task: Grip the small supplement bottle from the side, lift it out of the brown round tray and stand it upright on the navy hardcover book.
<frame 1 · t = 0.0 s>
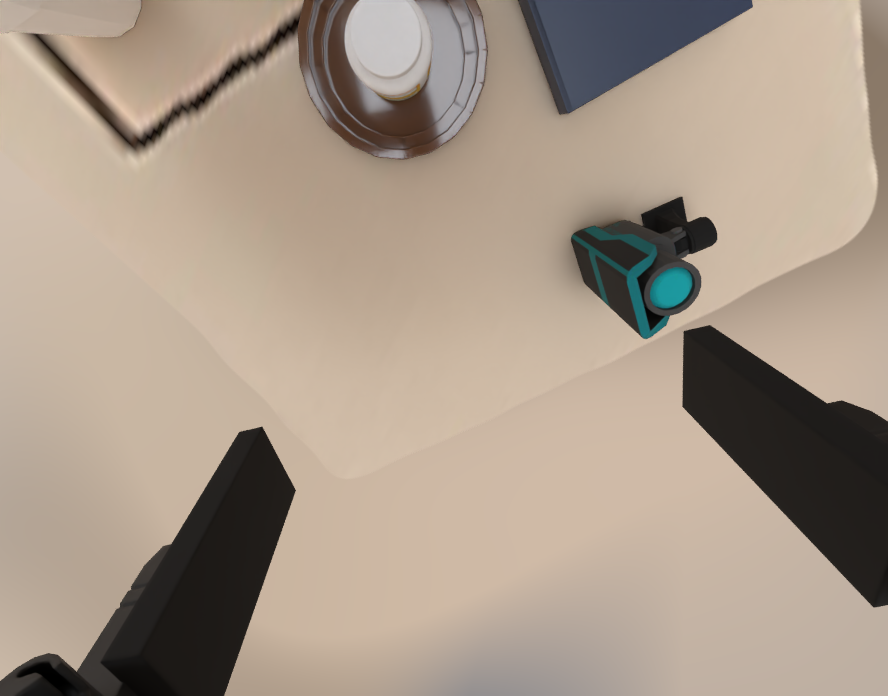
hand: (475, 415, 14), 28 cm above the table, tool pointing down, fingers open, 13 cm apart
surveillance camera: (628, 239, 40), on the table
brown round tray: (395, 60, 33), on the table
supplement bottle: (395, 60, 33), resting on brown round tray
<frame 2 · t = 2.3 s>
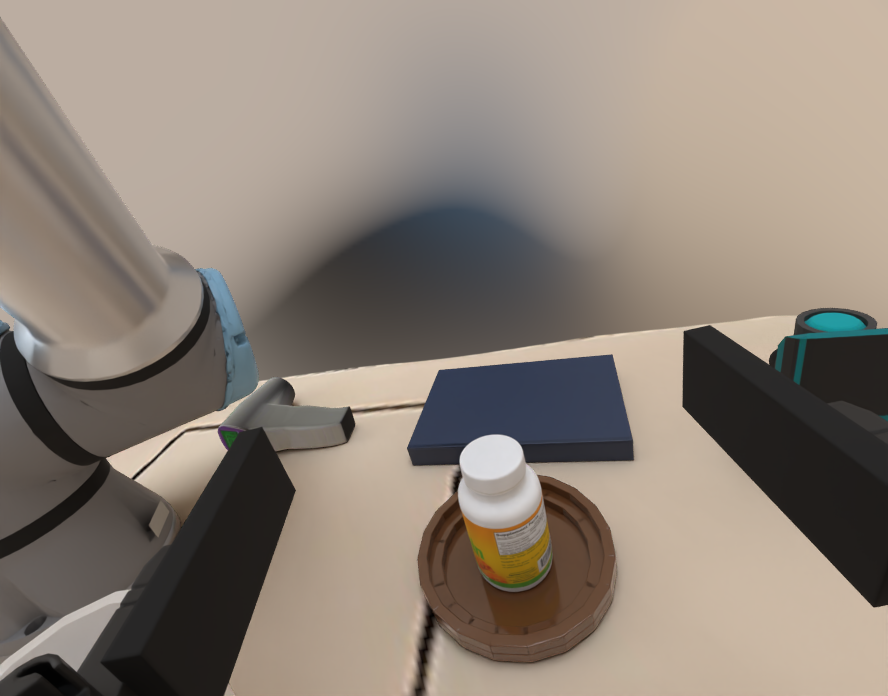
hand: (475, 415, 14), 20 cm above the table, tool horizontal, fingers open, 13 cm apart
infrared thermometer: (305, 423, 54), on the table
book: (519, 415, 46), on the table
surveillance camera: (797, 440, 35), on the table
brown round tray: (515, 560, 31), on the table
supplement bottle: (515, 560, 31), resting on brown round tray
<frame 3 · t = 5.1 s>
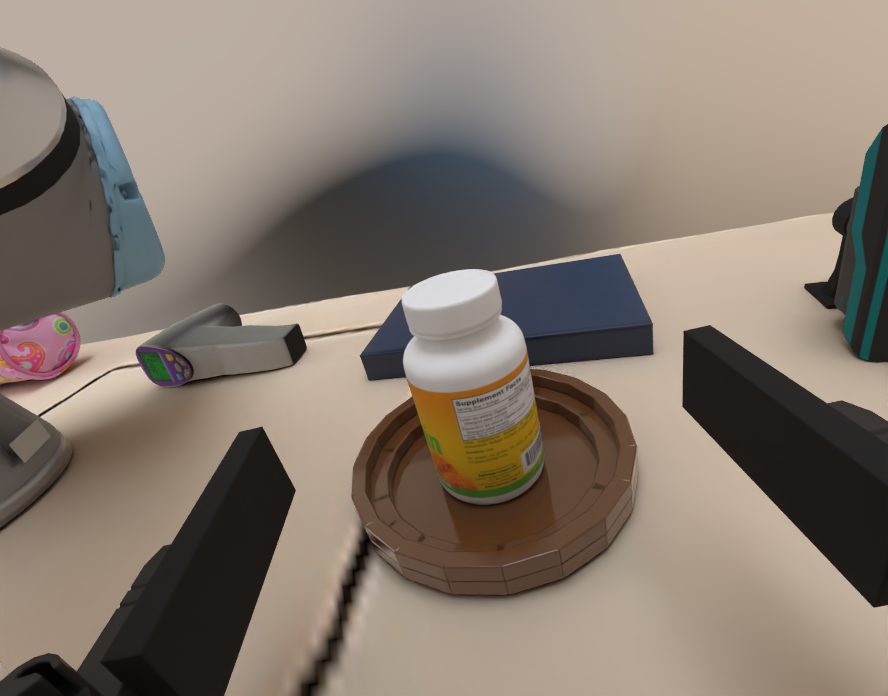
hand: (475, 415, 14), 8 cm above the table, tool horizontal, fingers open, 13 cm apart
pencil case: (11, 382, 55), on the table
infrared thermometer: (250, 353, 45), on the table
book: (505, 324, 36), on the table
surveillance camera: (875, 318, 26), on the table
brown round tray: (491, 469, 22), on the table
supplement bottle: (491, 469, 22), resting on brown round tray
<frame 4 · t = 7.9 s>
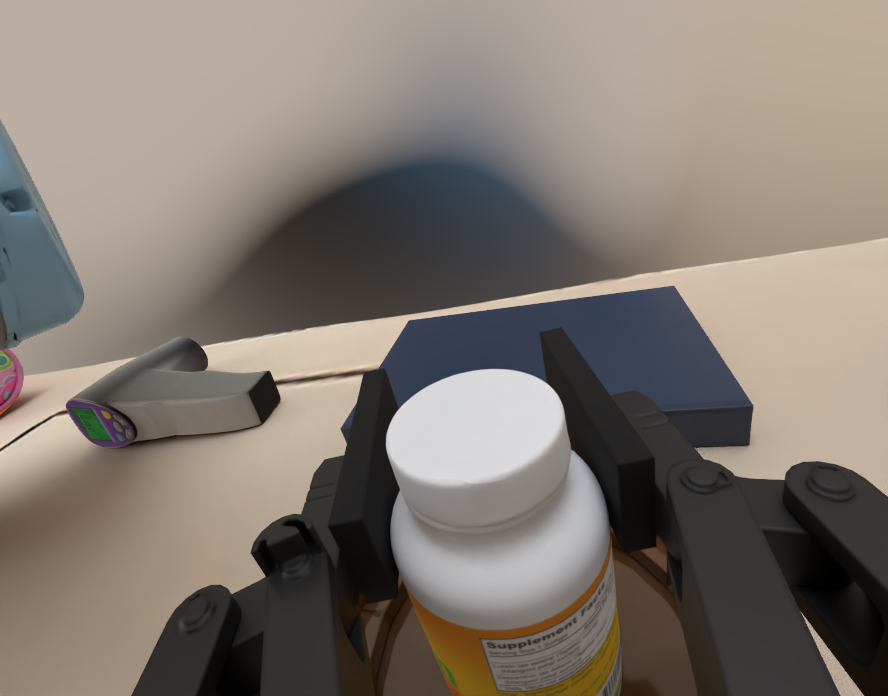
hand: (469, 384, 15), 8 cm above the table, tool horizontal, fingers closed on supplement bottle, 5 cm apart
infrared thermometer: (214, 400, 37), on the table
book: (530, 378, 28), on the table
brown round tray: (532, 662, 14), on the table
supplement bottle: (532, 662, 14), resting on brown round tray, touching gripper
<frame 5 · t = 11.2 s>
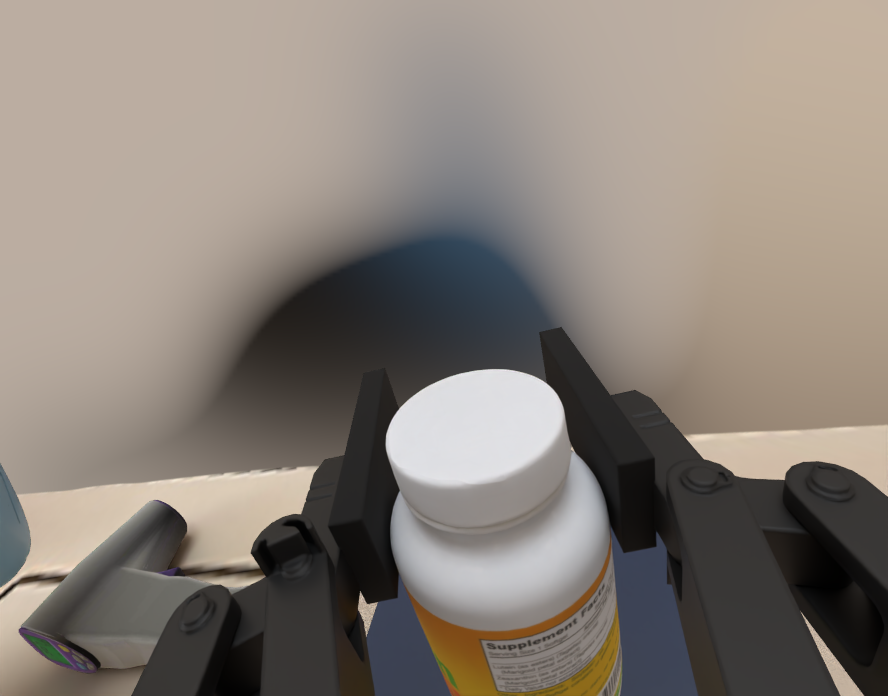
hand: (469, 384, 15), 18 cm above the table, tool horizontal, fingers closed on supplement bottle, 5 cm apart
infrared thermometer: (192, 590, 33), on the table
book: (553, 628, 25), on the table
supplement bottle: (532, 662, 14), point 10 cm above the table, touching gripper
when the fingers open (9 cm above the table, at t = 14.8 s): supplement bottle stays where it is, resting on book.
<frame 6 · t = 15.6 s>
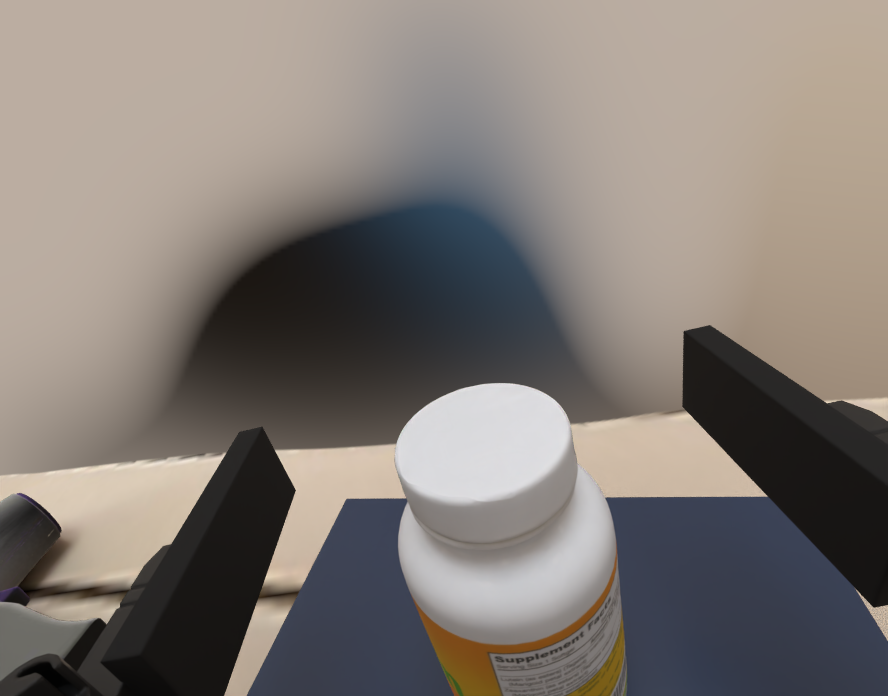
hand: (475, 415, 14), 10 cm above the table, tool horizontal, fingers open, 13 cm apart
infrared thermometer: (45, 618, 24), on the table
supplement bottle: (538, 671, 14), point 2 cm above the table, touching book
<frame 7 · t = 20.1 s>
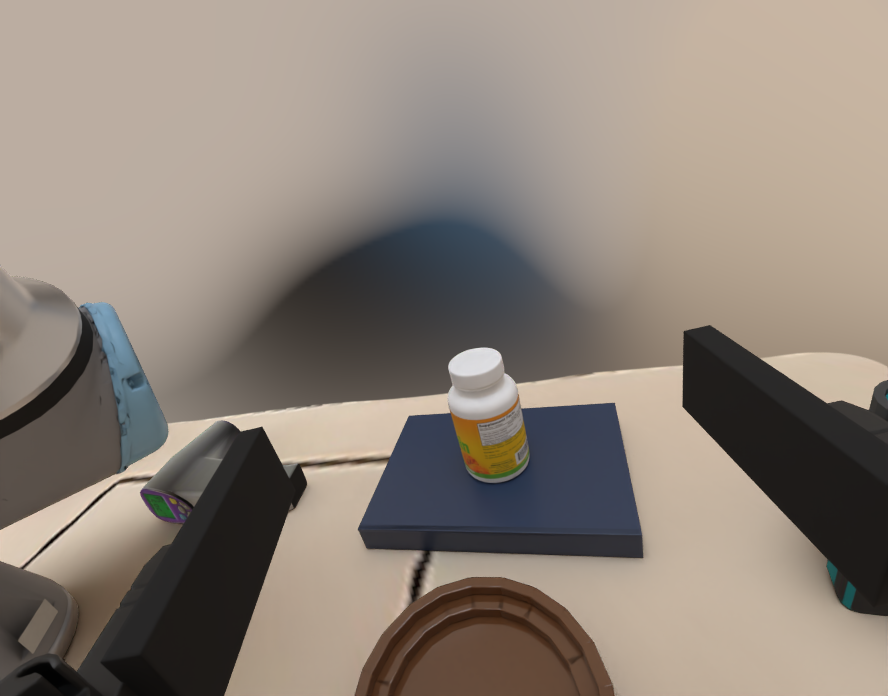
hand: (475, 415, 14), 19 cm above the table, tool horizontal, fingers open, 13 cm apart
infrared thermometer: (252, 478, 46), on the table
book: (501, 480, 37), on the table
surveillance camera: (861, 538, 26), on the table
supplement bottle: (498, 462, 36), point 2 cm above the table, touching book
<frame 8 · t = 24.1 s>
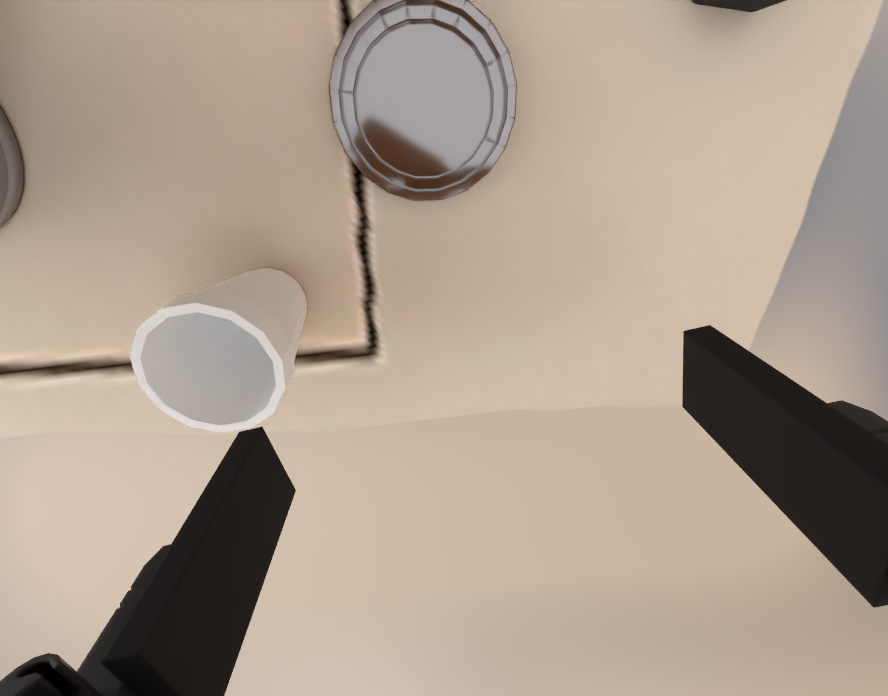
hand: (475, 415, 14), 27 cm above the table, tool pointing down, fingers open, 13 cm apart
brown round tray: (424, 104, 33), on the table
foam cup: (272, 300, 40), on the table
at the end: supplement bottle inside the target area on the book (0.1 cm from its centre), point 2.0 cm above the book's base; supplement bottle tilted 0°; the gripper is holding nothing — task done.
